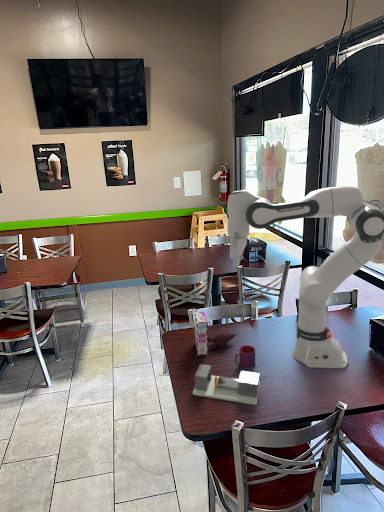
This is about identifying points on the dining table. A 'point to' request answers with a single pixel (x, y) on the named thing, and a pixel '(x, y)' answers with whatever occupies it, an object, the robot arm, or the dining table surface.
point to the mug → (246, 356)
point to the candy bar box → (201, 333)
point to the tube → (226, 382)
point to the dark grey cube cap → (248, 384)
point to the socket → (202, 377)
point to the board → (224, 393)
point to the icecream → (220, 340)
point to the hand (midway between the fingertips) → (238, 262)
